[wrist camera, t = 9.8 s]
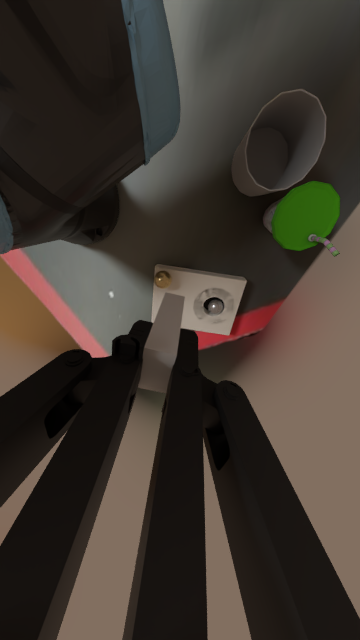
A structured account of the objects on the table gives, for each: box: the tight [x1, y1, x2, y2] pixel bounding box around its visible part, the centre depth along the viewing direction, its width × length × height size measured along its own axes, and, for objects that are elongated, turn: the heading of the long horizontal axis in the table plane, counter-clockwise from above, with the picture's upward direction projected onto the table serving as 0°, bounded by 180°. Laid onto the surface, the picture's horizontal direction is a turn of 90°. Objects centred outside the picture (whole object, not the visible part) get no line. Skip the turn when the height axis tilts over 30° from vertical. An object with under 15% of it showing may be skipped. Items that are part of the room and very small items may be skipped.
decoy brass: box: [154, 271, 172, 289], centre depth 36 cm, size 3×3×3 cm
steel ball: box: [208, 299, 223, 314], centre depth 40 cm, size 3×3×3 cm
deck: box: [151, 264, 247, 335], centre depth 41 cm, size 18×13×2 cm
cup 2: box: [263, 181, 340, 256], centre depth 26 cm, size 8×8×15 cm
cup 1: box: [231, 89, 326, 197], centre depth 25 cm, size 8×8×10 cm
